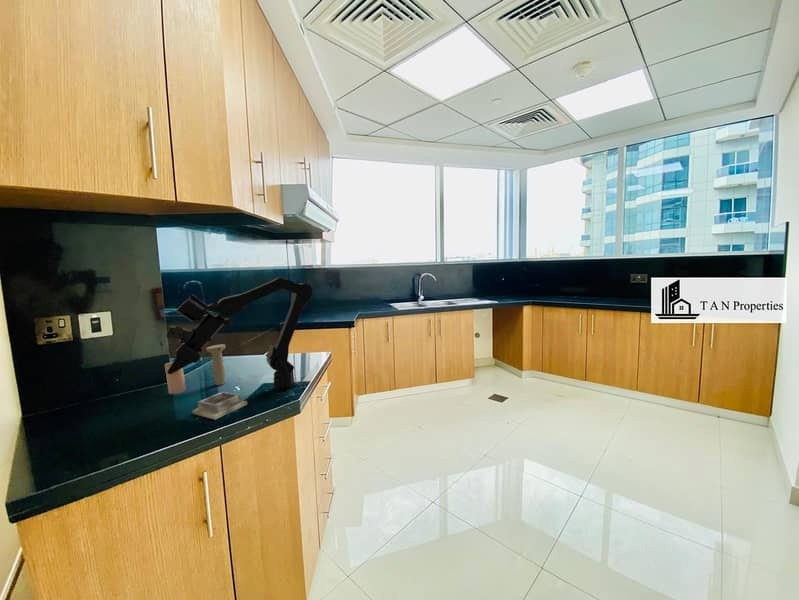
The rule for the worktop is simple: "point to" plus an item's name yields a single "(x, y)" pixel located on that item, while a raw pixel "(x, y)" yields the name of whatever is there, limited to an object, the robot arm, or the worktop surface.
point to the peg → (175, 380)
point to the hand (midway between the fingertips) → (169, 371)
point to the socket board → (219, 405)
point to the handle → (217, 363)
